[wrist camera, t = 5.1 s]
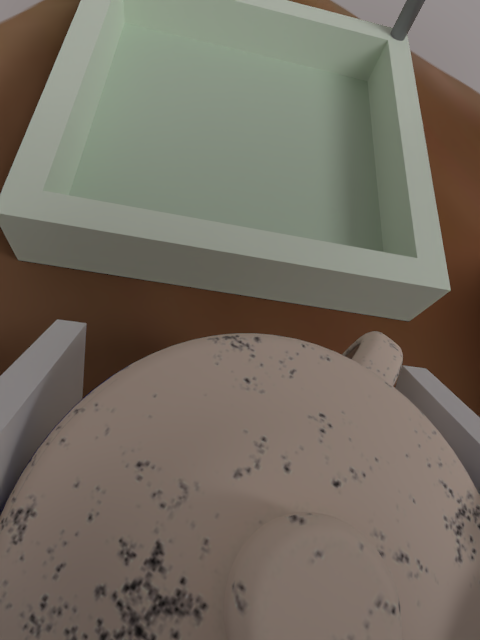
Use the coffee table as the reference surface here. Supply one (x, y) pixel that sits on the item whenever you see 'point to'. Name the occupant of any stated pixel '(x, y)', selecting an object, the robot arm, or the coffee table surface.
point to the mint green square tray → (234, 156)
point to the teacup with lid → (244, 504)
